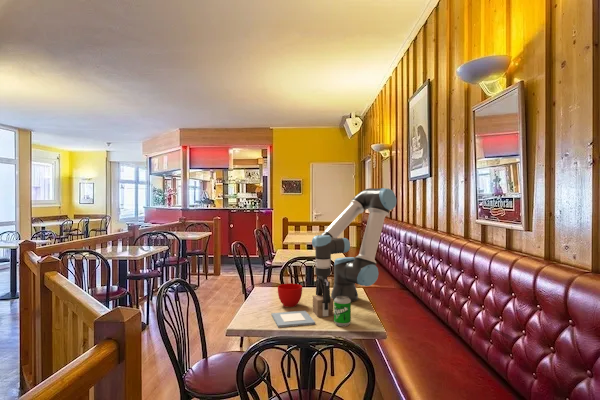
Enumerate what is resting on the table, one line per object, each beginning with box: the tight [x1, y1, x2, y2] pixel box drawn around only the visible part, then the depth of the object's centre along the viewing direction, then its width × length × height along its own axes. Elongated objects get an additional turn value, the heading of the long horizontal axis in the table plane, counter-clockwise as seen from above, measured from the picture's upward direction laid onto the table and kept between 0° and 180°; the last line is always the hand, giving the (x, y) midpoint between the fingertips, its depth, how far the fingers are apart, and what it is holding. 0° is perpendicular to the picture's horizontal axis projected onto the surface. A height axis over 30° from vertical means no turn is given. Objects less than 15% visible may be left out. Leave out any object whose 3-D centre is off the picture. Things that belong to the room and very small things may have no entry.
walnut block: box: [312, 294, 334, 318], centre depth 180 cm, size 8×8×8 cm
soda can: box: [333, 296, 352, 327], centre depth 165 cm, size 8×8×12 cm
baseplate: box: [271, 310, 316, 329], centre depth 171 cm, size 17×17×1 cm
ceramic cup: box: [277, 282, 303, 308], centre depth 195 cm, size 13×17×10 cm
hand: (322, 313), depth 180 cm, fingers open, 8 cm apart
